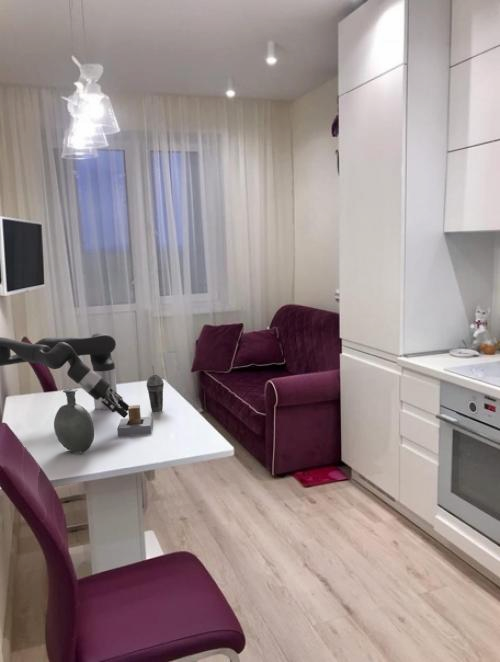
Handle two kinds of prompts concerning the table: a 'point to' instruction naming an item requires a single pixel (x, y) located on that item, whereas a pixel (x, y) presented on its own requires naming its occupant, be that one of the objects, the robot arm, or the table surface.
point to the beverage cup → (155, 392)
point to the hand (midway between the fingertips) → (127, 412)
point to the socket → (135, 427)
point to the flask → (74, 425)
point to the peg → (134, 415)
